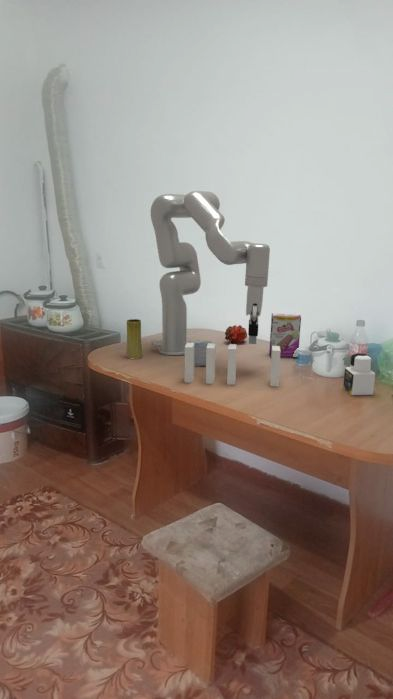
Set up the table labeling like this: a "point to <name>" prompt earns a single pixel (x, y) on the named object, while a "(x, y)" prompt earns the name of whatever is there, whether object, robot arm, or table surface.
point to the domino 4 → (252, 338)
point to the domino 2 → (210, 363)
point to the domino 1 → (189, 362)
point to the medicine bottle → (359, 375)
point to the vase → (134, 338)
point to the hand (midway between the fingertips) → (252, 332)
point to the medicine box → (200, 352)
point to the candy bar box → (285, 333)
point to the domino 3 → (231, 364)
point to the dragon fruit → (235, 334)
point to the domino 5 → (275, 366)
